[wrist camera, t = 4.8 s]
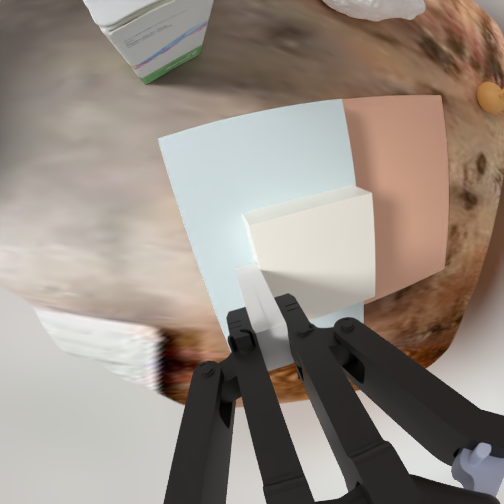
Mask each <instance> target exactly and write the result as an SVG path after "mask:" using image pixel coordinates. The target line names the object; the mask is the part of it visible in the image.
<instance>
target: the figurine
mask: <svg viewBox="0 0 504 504" xmlns="http://www.w3.org/2000/svg"><path fill="white" fill-rule="evenodd" d="M477 100H478V102H479V104H480V106H481V107H482V108H483V109H484V110H485V111H486V112H488V113H490V114H500V113H501V112H502V111H503V110H504V88H503V89H501V88H500V87H499V86H498V85H497V84H495V83H493V82H483V83H481V84H480V85H479V87H478V89H477Z"/></svg>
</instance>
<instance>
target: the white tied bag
mask: <svg viewBox="0 0 504 504" xmlns="http://www.w3.org/2000/svg"><path fill="white" fill-rule="evenodd" d="M322 1H323V2H324V3H325V4H326V5H328V6H329V7H331V8H332V9H335V10H336V11H338V12H340V13H343V14H346V15H347V16H349V17H352V18H357V19H367V20H371V21H377V22H378V21H381V20H383V19H390V18H403V19H407V20H412V19H414V18H415V17H416V16H417V15H419V14H422V13H423V12H424V11H425V8H426V6H425V3H424V1H423V0H322Z"/></svg>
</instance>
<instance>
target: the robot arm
mask: <svg viewBox="0 0 504 504" xmlns="http://www.w3.org/2000/svg"><path fill="white" fill-rule="evenodd" d="M234 270H235V274H236V277H237V280H238V284H239V287H240V291H241V294H242V298H243V301H244V304H245V307H243V308H240V309H236V310H233V311H229V312H228V315H227V317H226V320H227V324H228V329H229V336H228V340H227V341H228V344H229V347H230V349H231V354H230V355H229V357H228V358H226V359H225V360H223V361H222V362H220V363H217V362H214V361H206V362H203V363H201V364H199V365H198V366H197V367H196V368H195V370H194V372H193V376H192V380H191V384H190V388H189V392H188V396H187V400H186V404H185V409H184V413H183V417H182V422H181V426H180V430H179V435H178V439H177V443H176V448H175V452H174V457H173V461H172V466H171V471H170V475H169V480H168V485H167V490H166V494H165V499H164V504H226V495H227V484H228V475H229V464H230V454H231V443H232V434H233V424H234V414H235V404H236V399H238V398H240V397H241V396H242V400H243V404H244V409H245V413H246V417H247V421H248V426H249V429H250V434H251V437H252V442H253V446H254V450H255V454H256V457H257V461H258V465H259V469H260V473H261V476H262V480H263V491H264V496H265V499H266V503H267V504H500V502H499V501H498V499H497V498H495V497H496V495H497V492H498V490H499V487H500V485H501V482H502V480H503V477H504V416H503V415H499V414H495V413H492V412H488V411H485V410H481V409H479V408H478V407H477V406H475V405H474V404H472V403H471V402H470V401H469V400H467V399H466V398H464V397H463V396H462V395H460V394H459V393H458V392H456V391H455V390H454V389H452V388H451V387H450V386H448V385H446V384H445V383H444V382H443V381H441V380H440V379H438V378H437V377H436V376H435V375H433V374H432V373H430V372H429V371H428V370H426V369H425V368H424V367H422V366H421V365H419V364H418V363H417V362H415V361H414V360H413V359H411V358H410V357H408V356H407V355H406V354H404V353H403V352H402V351H400V350H399V349H397V348H396V347H395V346H393V345H392V344H391V343H389V342H388V341H386V340H385V339H384V338H382V337H381V336H380V335H378V334H377V333H375V332H374V331H373V330H371V329H370V328H368V327H367V326H366V325H364V324H363V323H362V322H360V321H359V320H357V319H355V318H352V317H345V318H341V319H339V320H338V321H336V322H335V324H334V327H329V328H319V327H316V326H315V325H314V324H312V323H310V322H309V320H308V318H307V317H306V315H305V313H304V312H303V310H302V308H301V307H300V305H299V303H298V301H297V300H296V298H295V297H294V296H293V295H291V294H289V293H287V294H284V295H281V296H277V297H273V295H272V293H271V291H270V289H269V287H268V285H267V283H266V281H265V278H264V276H263V274H262V272H261V270H260V269H259V267H258V265H257V262H255V263H252V264H248V265H245V266H241V267H238V268H234ZM293 359H294V360H293ZM294 361H295V363H296V368H297V373H298V378H299V379H301V381H302V383H303V385H304V388H305V390H306V392H307V394H308V397H309V399H310V401H311V403H312V406H313V408H314V410H315V412H316V415H317V417H318V419H319V421H320V424H321V426H322V428H323V431H324V433H325V435H326V437H327V440H328V442H329V444H330V446H331V449H332V451H333V453H334V456H335V458H336V460H337V462H338V465H339V467H340V469H341V471H342V474H343V476H344V479H345V482H346V486H347V489H348V493H347V494H345V495H344V496H343V497H341V498H338V499H333V500H326V501H318V502H315V501H314V499H313V496H312V494H311V491H310V489H309V485H308V483H307V480H306V478H305V475H304V473H303V470H302V467H301V465H300V462H299V459H298V457H297V454H296V451H295V448H294V445H293V442H292V440H291V437H290V434H289V431H288V428H287V426H286V423H285V420H284V417H283V414H282V411H281V408H280V405H279V402H278V400H277V397H276V394H275V391H274V388H273V385H272V382H271V379H270V376H269V373H268V371H270V370H273V369H277V368H280V367H283V366H286V365H289V364H292V363H294ZM347 378H349V379H350V380H351V381H352V382H353V383H354V384H355V385H356V386H357V387H358V388H359V389H360V390H361V391H362V392H364V393H365V394H366V395H367V396H368V397H369V398H370V399H371V400H372V401H373V402H374V403H375V404H377V405H378V406H379V407H380V408H381V409H382V410H383V411H384V412H385V413H386V414H387V415H389V416H390V417H391V418H392V419H393V420H394V421H395V422H396V423H397V424H398V425H400V426H401V427H402V428H403V429H404V430H405V431H406V432H407V433H408V434H410V435H411V436H412V437H413V438H414V439H415V440H416V441H418V442H419V443H420V444H421V445H422V446H423V447H424V448H425V449H426V450H428V451H429V452H430V453H431V454H432V455H433V456H435V457H436V458H437V459H439V460H440V461H442V462H444V463H446V464H447V465H450V466H452V470H451V472H452V476H453V478H454V479H455V480H457V481H459V482H460V483H461V484H462V485H463V487H464V489H463V488H459V487H455V486H451V485H447V484H443V483H440V482H436V481H433V480H429V479H426V478H423V477H420V476H416V475H411V474H409V473H408V471H407V469H406V468H405V466H404V464H403V462H402V461H401V459H400V457H399V456H398V454H397V452H396V450H395V449H394V447H393V446H392V444H391V443H389V442H388V441H384V440H383V438H382V437H381V435H380V434H379V432H378V430H377V429H376V427H375V425H374V423H373V421H372V420H371V418H370V416H369V415H368V413H367V411H366V409H365V408H364V406H363V404H362V403H361V401H360V399H359V397H358V396H357V394H356V393H355V391H354V389H353V387H352V386H351V384H350V382H349V381H348V379H347Z"/></svg>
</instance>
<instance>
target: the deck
mask: <svg viewBox="0 0 504 504" xmlns="http://www.w3.org/2000/svg"><path fill="white" fill-rule="evenodd" d="M158 142H159V145H160V149H161V152H162V156H163V159H164V162H165V166H166V169H167V173H168V176H169V179H170V182H171V186H172V189H173V192H174V195H175V198H176V201H177V205H178V208H179V211H180V214H181V217H182V220H183V223H184V226H185V229H186V232H187V235H188V238H189V241H190V244H191V247H192V250H193V252H194V255H195V258H196V261H197V264H198V267H199V269H200V272H201V275H202V278H203V281H204V283H205V286H206V289H207V291H208V294H209V297H210V299H211V302H212V305H213V307H214V310H215V313H216V315H217V318H218V320H219V323H220V326H221V328H222V331H223V333H224V336H225V338H226V341H227V340H228V336H229V329H228V324H227V320H226V317H227V315H228V312H229V311H233V310H236V309H240V308H243V307H245V304H244V301H243V298H242V294H241V291H240V287H239V284H238V280H237V277H236V274H235V270H234V268H238V267H241V266H245V265H248V264H252V263H254V259H253V255H252V251H251V247H250V243H249V239H248V235H247V231H246V227H245V223H244V219H243V215H242V213H244V212H248V211H252V210H255V209H259V208H263V207H267V206H270V205H274V204H278V203H282V202H286V201H289V200H293V199H297V198H301V197H305V196H309V195H313V194H317V193H321V192H325V191H330V190H334V189H338V188H342V187H346V186H351V185H354V186H356V181H355V174H354V166H353V159H352V153H351V146H350V140H349V134H348V128H347V123H346V118H345V112H344V107H343V102H342V99H333V100H325V101H317V102H310V103H303V104H297V105H291V106H285V107H279V108H274V109H269V110H264V111H259V112H254V113H249V114H245V115H240V116H236V117H232V118H228V119H224V120H220V121H216V122H212V123H208V124H205V125H201V126H197V127H194V128H190V129H187V130H184V131H180V132H177V133H174V134H171V135H168V136H165V137H162V138H158ZM345 317H352V318H355V319H357V320H359V321H360V322H362V323H363V324H364V301H362V302H359V303H357V304H354V305H352V306H349V307H346V308H344V309H341V310H338V311H335V312H333V313H330V314H327V315H324V316H321V317H319V318H316V319H313V320H310V321H309V322H310V323H312V324H314V325H315V326H316V327H319V328H329V327H334V324H335V322H336V321H338V320H339V319H341V318H345ZM227 343H228V341H227ZM228 346H229V344H228ZM229 348H230V347H229ZM230 351H231V349H230Z"/></svg>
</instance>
